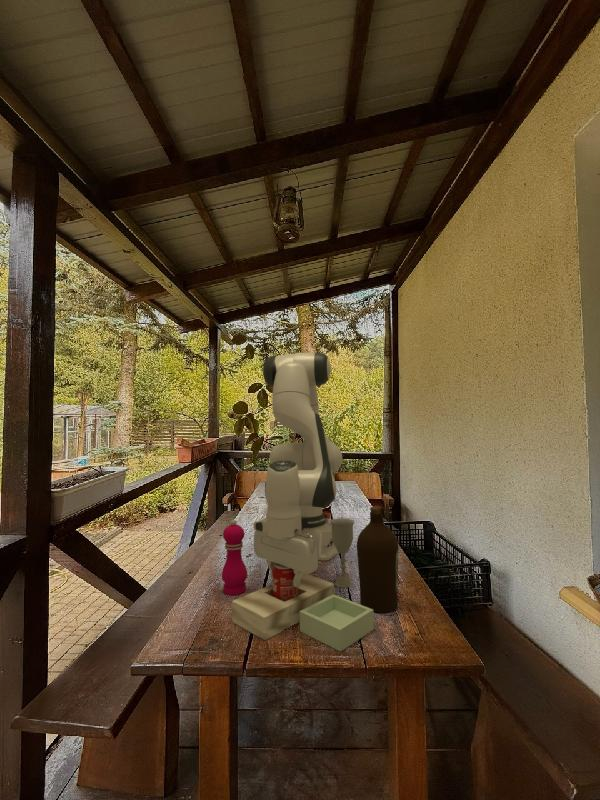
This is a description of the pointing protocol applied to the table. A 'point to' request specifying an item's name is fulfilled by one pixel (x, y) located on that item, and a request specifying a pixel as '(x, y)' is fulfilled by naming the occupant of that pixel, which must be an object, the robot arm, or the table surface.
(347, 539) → the chalice
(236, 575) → the pepper mill
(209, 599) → the table surface
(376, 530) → the olive oil
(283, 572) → the beverage can
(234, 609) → the socket beam
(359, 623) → the shallow square tray
